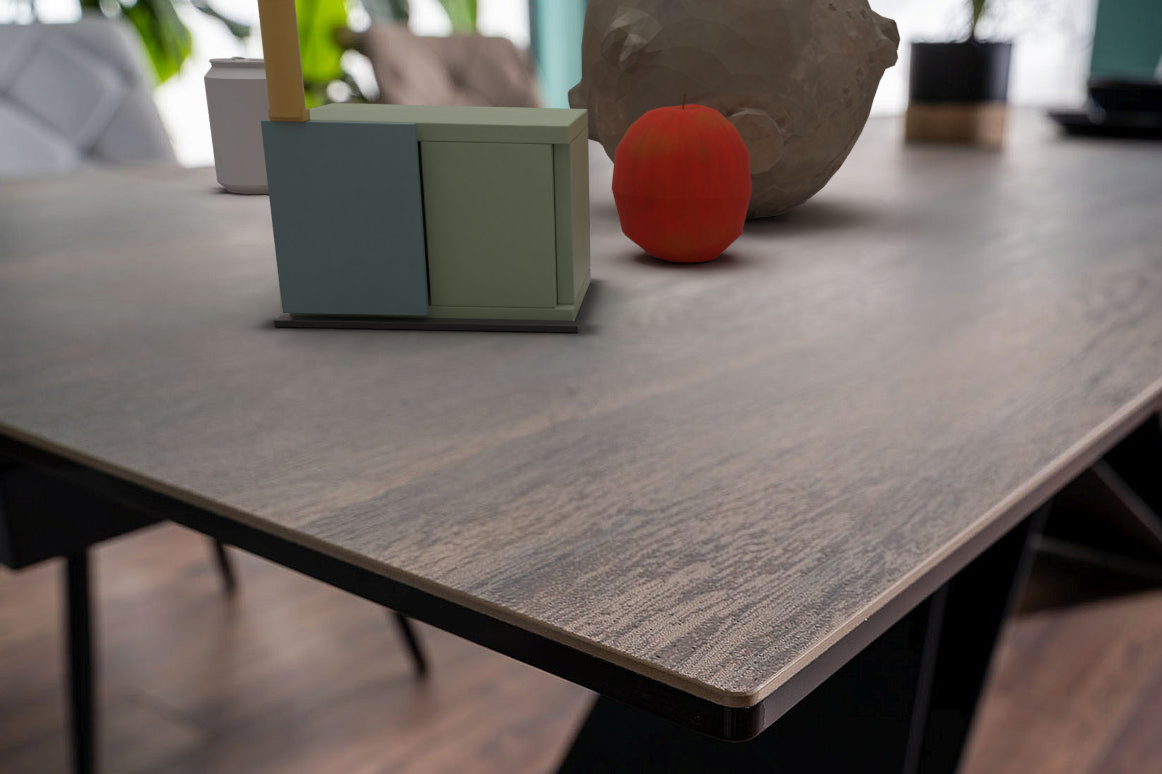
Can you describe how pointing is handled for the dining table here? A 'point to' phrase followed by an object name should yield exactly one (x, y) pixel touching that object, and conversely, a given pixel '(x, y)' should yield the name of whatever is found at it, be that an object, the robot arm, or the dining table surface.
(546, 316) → the cabinet
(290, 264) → the door
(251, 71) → the can
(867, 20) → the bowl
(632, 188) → the apple
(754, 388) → the dining table surface
